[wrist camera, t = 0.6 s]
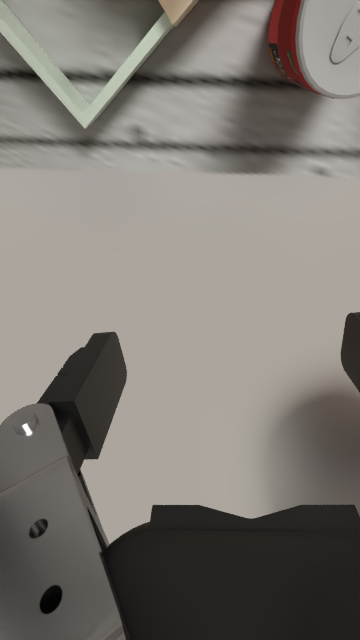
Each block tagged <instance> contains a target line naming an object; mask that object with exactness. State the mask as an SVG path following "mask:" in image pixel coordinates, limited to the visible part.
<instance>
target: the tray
mask: <svg viewBox="0 0 360 640" xmlns="http://www.w3.org/2000/svg"><path fill="white" fill-rule="evenodd" d="M173 26H174V25H173V24H172V23H171V21H170V19H169V18H168V16H167V14H166V12H164V13H163V14H162V16H161V17H160V18H159V19H158V21H157V22H156V23H155V24H154V26H153V27H152V28H151V29H150V31H149V32H148V33H147V34H146V36H145V37H144V38H143V40H142V41H141V42H140V43H139V45H138V46H137V47H136V48H135V50H134V51H133V52H132V53H131V55H130V56H129V57H128V58H127V60H126V61H125V62H124V63H123V65H122V66H121V67H120V68H119V70H118V71H117V72H116V73H115V75H114V76H113V77H112V79H111V80H110V81H109V82H108V84H107V85H106V86H105V87H104V89H103V90H102V91H101V92H100V94H99V95H98V96H97V97H96V99H95V100H94V101H93V102H92V104H91V105H89V104H88V103H87V102H86V101H85V99H84V98H83V97H82V96H81V95H80V93H79V92H78V91H77V90H76V89H75V87H74V86H73V85H72V84H71V83H70V81H69V80H68V79H67V78H66V77H65V75H64V74H63V73H62V72H61V71H60V69H59V68H58V67H57V66H56V64H55V63H54V62H53V61H52V60H51V58H50V57H49V56H48V55H47V54H46V52H45V51H44V50H43V49H42V48H41V46H40V45H39V44H38V43H37V42H36V40H35V39H34V38H33V37H32V36H31V34H30V33H29V32H28V31H27V30H26V28H25V27H24V26H23V25H22V23H21V22H20V21H19V20H18V19H17V17H16V16H15V15H14V14H13V13H12V11H11V10H10V9H9V8H8V7H7V5H6V4H5V3H4V2H3V1H2V0H0V32H1V33H2V35H3V36H4V37H5V38H6V39H7V40H8V41H9V43H10V44H11V45H12V46H13V47H14V48H15V49H16V51H17V52H18V53H19V54H20V55H21V56H22V57H23V59H24V60H25V61H26V62H27V63H28V64H29V65H30V67H31V68H32V69H33V70H34V71H35V72H36V73H37V75H38V76H39V77H40V78H41V79H42V80H43V81H44V83H45V84H46V85H47V86H48V87H49V88H50V89H51V91H52V92H53V93H54V94H55V95H56V96H57V97H58V99H59V100H60V101H61V102H62V103H63V104H64V105H65V107H66V108H67V109H68V110H69V111H70V112H71V113H72V115H73V116H74V117H75V118H76V119H77V120H78V121H79V123H80V124H81V125H82V126H83V127H84V128H87V127H88V126H89V125H91V124H92V123H94V121H95V120H96V119H97V118H98V117H99V115H100V114H101V113H102V112H103V111H104V109H105V108H106V107H107V106H108V105H109V103H110V102H111V101H112V100H113V99H114V97H115V96H116V95H117V94H118V93H119V91H120V90H121V89H122V88H123V87H124V85H125V84H126V83H127V82H128V81H129V79H130V78H131V77H132V76H133V75H134V73H135V72H136V71H137V70H138V69H139V67H140V66H141V65H142V64H143V63H144V61H145V60H146V59H147V58H148V57H149V55H150V54H151V53H152V52H153V51H154V49H155V48H156V47H157V46H158V45H159V43H160V42H161V41H162V40H163V39H164V37H165V36H166V35H167V34H168V32H169V31H170V30H171V29H172V28H173Z"/></svg>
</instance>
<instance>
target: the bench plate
mask: <svg viewBox="0 0 360 640" xmlns="http://www.w3.org/2000/svg"><path fill="white" fill-rule="evenodd" d="M158 1H159V2H160V4H161V6H162V7H163V9H164V11H165V12H166V14H167V16H168V18H169V19H170V21H171V23H172V24H173V25H174V26H175V27H177V26H178V25H179V24H180V23H181V21H182V20H183V19H184V18H185V17H186V15H187V14H188V13H189V12H190V11H191V9H192V8H193V7H194V6H195V5H196V3H197V2H198V1H199V0H158Z"/></svg>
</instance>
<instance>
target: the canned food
mask: <svg viewBox="0 0 360 640" xmlns="http://www.w3.org/2000/svg"><path fill="white" fill-rule="evenodd" d="M269 49H270V54H271V58H272V61H273V64H274V65H275V67H276V69H277V71H278V72H279V73H280V74H281V75H282V77H283V78H285V79H287V80H288V81H290V82H292V83H294V84H296V85H299V86H301V87H303V88H306V89H308V90H310V91H312V92H315V93H317V94H320V95H323V96H327V97H330V98H343V99H345V98H353V97H357V96H360V0H276V1H275V4H274V8H273V11H272V14H271V20H270V25H269Z"/></svg>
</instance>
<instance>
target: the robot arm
mask: <svg viewBox="0 0 360 640" xmlns="http://www.w3.org/2000/svg"><path fill="white" fill-rule="evenodd" d="M341 361H342V365H343V368H344V370H345V372H346V373H347V375H348V376H349V378H350V379H351V380H352V382H353V383H354V385H355V386H356V388H357V389H358V391H359V392H360V312H356V313H350V314H348V315H347V317H346V321H345V328H344V335H343V341H342V348H341ZM126 376H127V371H126V365H125V362H124V358H123V354H122V350H121V347H120V343H119V339H118V336H117V334H116V333H115V332H105V333H95V334H93V335H92V337H91V338H90V340H89V341H88V343H87V344H86V346H85V347H83V348H80V349H79V350H77V351H76V352H75V353H73V354H72V355H71V356H70V357H69V358H68V360H67V361H66V363H65V364H64V366H63V368H61V370H60V371H59V373H58V376H56V377H55V378H54V380H53V381H52V383H51V384H50V385H49V387H48V388H47V390H46V391H45V393H44V394H43V395H42V397H41V398H40V400H39V401H38V402H37V404H32V405H28V406H25V407H23V408H21V409H19V410H17V411H15V412H14V413H13V414H11V415H10V416H9V417H7V418H6V419H5V420H4V421H3V422H2V424H1V425H0V640H360V517H359V514H358V512H357V509H356V508H355V505H300V506H296V507H293V508H289V509H286V510H282V511H279V512H275V513H272V514H269V515H265V516H262V517H258V518H254V519H248V518H244V517H240V516H236V515H233V514H229V513H225V512H222V511H218V510H215V509H211V508H208V507H204V506H200V505H153V507H152V512H151V520H150V522H148V523H144V524H142V525H140V526H137V527H135V528H133V529H132V530H130V531H128V532H126V533H125V534H123V535H121V536H120V537H119V538H117V539H116V540H115V541H113V542H112V543H111V544H110V545H109V542H108V540H107V537H106V535H105V533H104V531H103V528H102V525H101V523H100V520H99V518H98V515H97V512H96V509H95V507H94V504H93V501H92V499H91V496H90V493H89V491H88V488H87V485H86V482H85V480H84V477H83V474H82V472H81V470H80V468H81V466H82V463H83V460H84V459H98V458H99V455H100V452H101V449H102V447H103V444H104V441H105V438H106V435H107V432H108V430H109V427H110V424H111V422H112V418H113V416H114V413H115V410H116V408H117V405H118V402H119V399H120V397H121V394H122V391H123V388H124V385H125V383H126Z"/></svg>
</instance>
